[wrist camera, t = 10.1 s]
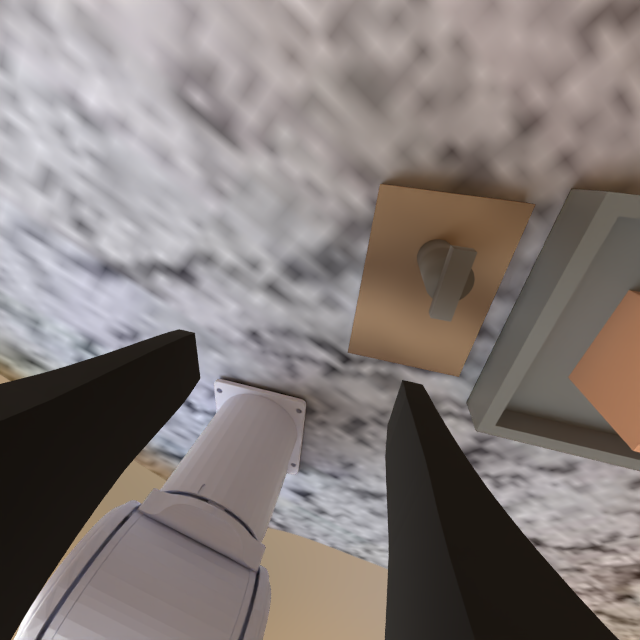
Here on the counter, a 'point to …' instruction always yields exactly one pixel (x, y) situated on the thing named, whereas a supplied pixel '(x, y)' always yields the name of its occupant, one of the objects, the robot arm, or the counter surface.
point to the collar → (615, 371)
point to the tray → (563, 332)
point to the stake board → (404, 284)
